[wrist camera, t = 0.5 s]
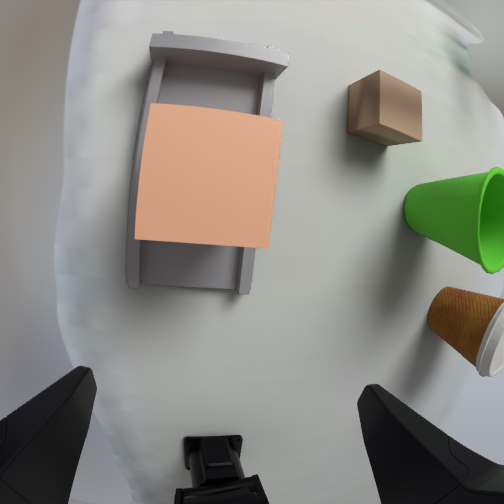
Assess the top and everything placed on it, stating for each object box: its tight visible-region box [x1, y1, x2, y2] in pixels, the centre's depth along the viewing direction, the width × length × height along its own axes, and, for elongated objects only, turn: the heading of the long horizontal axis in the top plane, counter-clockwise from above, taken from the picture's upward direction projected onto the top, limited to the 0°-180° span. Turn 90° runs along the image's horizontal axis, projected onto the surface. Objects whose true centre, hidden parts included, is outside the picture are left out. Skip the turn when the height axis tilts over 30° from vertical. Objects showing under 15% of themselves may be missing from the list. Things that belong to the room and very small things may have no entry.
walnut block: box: [347, 70, 422, 146], centre depth 21 cm, size 5×5×5 cm
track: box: [126, 31, 289, 294], centre depth 19 cm, size 20×10×4 cm, turn 173°
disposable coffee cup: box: [428, 287, 504, 377], centre depth 26 cm, size 10×10×12 cm
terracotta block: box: [135, 103, 283, 249], centre depth 16 cm, size 6×6×9 cm
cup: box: [404, 167, 504, 274], centre depth 22 cm, size 9×9×11 cm
